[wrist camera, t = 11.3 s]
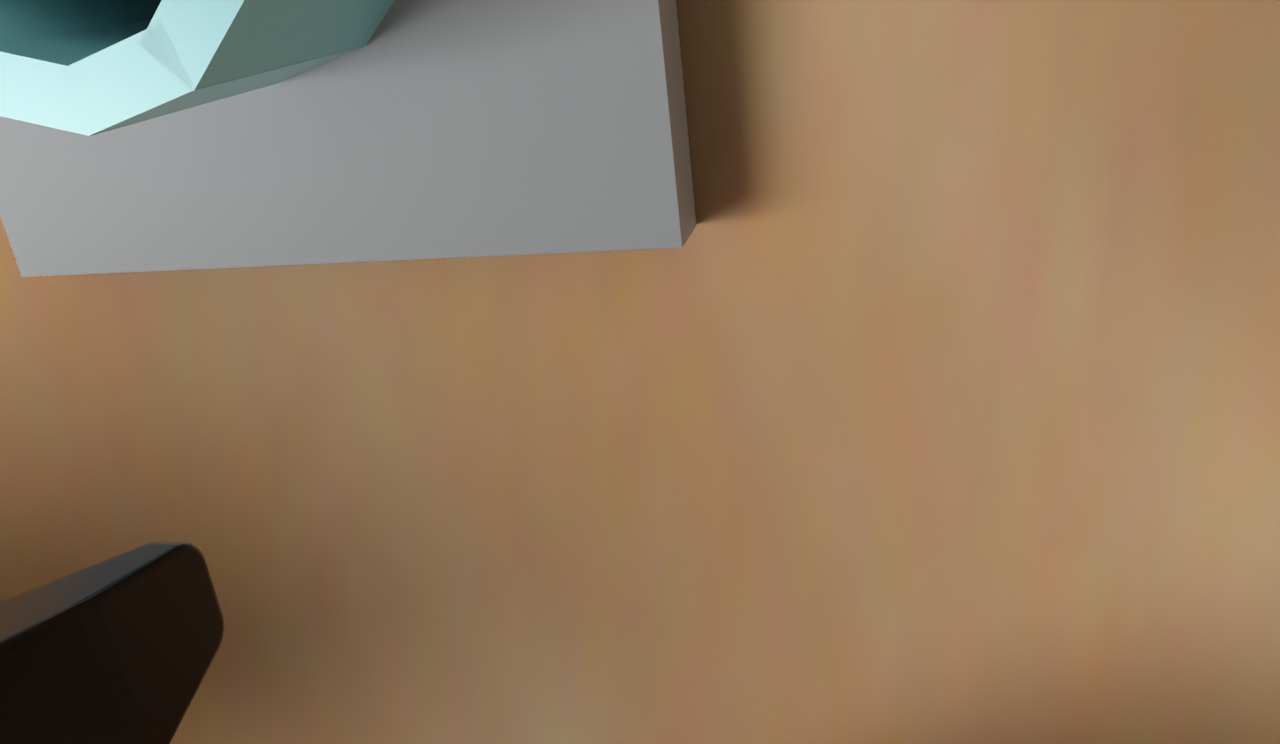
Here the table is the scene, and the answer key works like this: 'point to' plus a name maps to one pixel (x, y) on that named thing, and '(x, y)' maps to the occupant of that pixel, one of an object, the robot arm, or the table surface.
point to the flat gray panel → (385, 152)
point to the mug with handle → (162, 53)
